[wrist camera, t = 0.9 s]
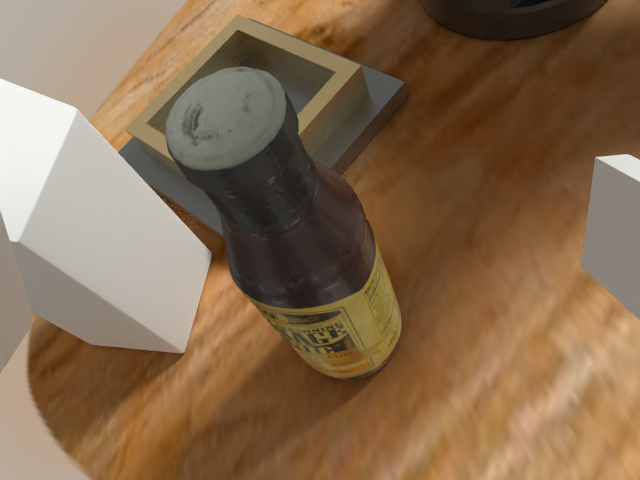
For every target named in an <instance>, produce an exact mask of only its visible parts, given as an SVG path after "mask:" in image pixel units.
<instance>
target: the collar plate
mask: <svg viewBox="0 0 640 480" xmlns="http://www.w3.org/2000/svg"><path fill="white" fill-rule="evenodd" d="M232 67H248V68H252V69H258V70H262V71H265V72H268V73H270V74H271V75H272V76H273V77H275V78H276V79H277V80H278V81H279V82H280V83H281V84H282V86H283V87H284V89H285V91H286V92H287V95H288V97H289V99H290V101H291V102H292V104H293V107H294V109H295V112H296V115H297V117H298V122H299V133H298V135H299V137H300V139H301V141H302V143H303V146H304V148H305V150H306V152H307V153H308V155H310V157H311V158H312V159H313V160H314V161H316V162H318V163H320V164H322V165H325V166H327V167H328V168H330V169H331V170H333V171H335V172H336V173H337V174H339V175H340V176H341V175H342V174H343V173H344V171H345V170H346V169H347V168H348V167H349V166H350V164H351V163H352V162H353V161H354V160H355V159H356V157H357V156H358V155H359V154H360V153H361V151H362V150H363V149H364V148H365V147H366V146H367V144H368V143H369V142H370V141H371V140H372V139H373V137H374V136H375V135H376V134H377V133H378V132H379V130H380V129H381V128H382V127H383V126H384V124H385V123H386V122H387V121H388V120H389V119H390V117H391V116H392V115H393V114H394V113H395V112H396V110H397V109H398V108H399V107H400V106H401V105H402V103H403V102H404V101H405V100H406V99H407V97H408V93H407V89H406V84H405V82H404V81H402V80H399V79H397V78H394V77H392V76H389V75H387V74H384V73H382V72H380V71H377V70H375V69H372V68H370V67H367V66H365V65H362V64H360V63H358V62H355V61H353V60H350V59H348V58H345V57H343V56H340V55H338V54H336V53H333V52H331V51H328V50H326V49H323V48H321V47H318V46H316V45H314V44H311V43H309V42H306V41H304V40H301V39H299V38H296V37H294V36H292V35H289V34H287V33H284V32H282V31H279V30H277V29H274V28H272V27H270V26H267V25H265V24H262V23H260V22H257V21H255V20H252V19H250V18H249V19H247V18H244V17H242V16H240V15H237V16H236V17H235V18H234V19H233V20H232V21H231V22H230V23H229V24H228V25H227V26H226V27H225V28H224V29H223V30H222V31H221V32H220V33H219V34H218V35H217V36H216V37H215V38H214V39H213V40H212V41H211V42H210V43H209V44H208V45H207V46H206V47H205V48H204V49H203V50H202V51H201V52H200V53H199V54H198V55H197V56H196V57H195V58H194V59H193V60H192V61H191V62H190V63H189V64H188V65H187V66H186V67H185V68H184V69H183V70H182V71H181V72H180V73H179V74H178V75H177V77H176V78H175V79H174V80H173V81H172V82H171V83H170V84H169V85H168V86H167V87H166V88H165V89H164V90H163V91H162V92H161V93H160V94H159V95H158V96H157V97H156V98H155V99H154V100H153V101H152V102H151V103H150V104H149V105H148V106H147V107H146V108H145V109H144V110H143V111H142V112H141V113H140V114H139V115H138V116H137V117H136V118H135V119H134V120H133V121H132V122H131V123H130V124H129V125H128V126H127V127H126V128H125V130H126V131H127V132H128V133H129V135H130V136H131V137H132V139H131V140H130V141H129V142H128V143H127V144H126V145H125V146H124V147H123V148H122V149H121V150H120V151H119V152H118V153H119V155H120V156H121V157H122V158H123V159H124V160H125V161H126V162H127V163H128V164H129V165H130V166H131V167H132V168H133V169H134V171H135V172H136V173H137V174H138V175H139V176H140V177H141V178H142V179H143V180H144V181H145V182H146V183H147V184H148V185H149V187H150V188H151V189H153V190H154V191H155V192H157V193H158V194H160V195H161V196H162V197H164V198H165V199H167V200H168V201H169V202H171V203H172V204H174V205H175V206H176V207H178V208H179V209H181V210H182V211H183V212H185V213H186V214H188V215H189V216H190V217H192V218H193V219H195V220H196V221H197V222H199V223H200V224H202V225H203V226H204V227H206V228H207V229H209V230H210V231H212V232H213V233H214V234H216V235H217V236H219V237H220V238H221V239H223V240H224V235H223V230H222V225H221V219H220V215H219V213H218V211H217V210H216V206H215V205H214V204H213V203H212V201H211V200H210V199H209V198H208V197H207V195H206V194H205V192H204V191H203V190H202V189H200V188H198V187H196V186H194V185H193V184H192V183H191V182H190V181H188V180H187V179H186V178H185V176H184V175H183V174H182V172H181V171H180V169H179V167H178V166H177V165H176V163H175V161H174V160H173V158H172V157H171V155H170V154H169V152H168V148H167V143H166V137H165V136H166V131H165V125H166V121H167V119H168V115H169V113H170V111H171V109H172V107H173V105H174V103H175V102H176V101H177V99H178V98H179V97H180V96H181V95H182V94H183V93H184V92H185V91H186V90H187V89H188V88H189V87H190V86H191V85H193V84H194V83H195V82H197V81H198V80H200V79H202V78H204V77H206V76H209V75H212V74H214V73H216V72H217V71H220V70H222V69H227V68H232Z"/></svg>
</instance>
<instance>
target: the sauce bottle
mask: <svg viewBox="0 0 640 480" xmlns="http://www.w3.org/2000/svg"><path fill="white" fill-rule="evenodd" d="M165 131H166V136H165V137H166V143H167V148H168V152H169V154H170V155H171V157H172V158H173V160H174V161H175V163H176V165H177V166H178V167H179V169H180V171H181V172H182V174H183V175H184V176H185V178H186V179H187V180H188V181H190V182H191V183H192V184H193V185H194V186H196V187H198V188H200V189H202V190H203V191H204V192H205V194H206V195H207V197H208V198H209V199H210V200H211V201H212V203H213V204H214V205H215V206H216V210H217V211H218V213H219V215H220V219H221V225H222V230H223V235H224V241H225V246H226V251H227V257H228V262H229V267H230V273H231V276H232V278H233V280H234V282H235V283H236V285H237V286H238V288H239V289H240V290H241V291H242V292H243V294H244V295H246V296H247V297H248V299H249V300H250V301H251V302H252V303H253V304H254V305H255V306H256V308H257V309H258V310H259V311H260V312H261V313H262V315H263V316H264V317H265V318H266V319H267V320H268V322H270V323H271V325H272V326H273V327H274V328H275V329H276V330H277V331H278V332H279V333H280V335H281V336H282V337H283V338H284V339H285V340H286V341H287V342H288V343H289V344H290V345H291V346H292V347H293V348H294V349H295V351H296V352H297V353H298V354H299V355H300V356H301V357H302V358H303V359H304V360H305V361H306V363H308V364H309V365H310V366H311V367H313V368H314V369H315V370H317V371H319V372H321V373H322V374H324V375H326V376H330V377H332V378H338V379H347V380H351V379H355V380H356V379H364V378H366V377H367V376H369V375H371V374H373V373H375V372H376V371H377V370H379V369H380V368H382V366H383V365H385V364H386V363H387V362H388V361H389V360H390V359H391V358H392V357H393V356H394V354H395V353H396V351H397V347H398V344H399V340H400V333H401V328H402V320H401V312H400V308H399V305H398V302H397V299H396V296H395V293H394V290H393V287H392V284H391V282H390V279H389V276H388V273H387V270H386V268H385V265H384V262H383V259H382V256H381V253H380V250H379V247H378V244H377V241H376V238H375V235H374V233H373V230H372V228H371V226H370V224H369V222H368V220H367V219H366V216H365V213H364V210H363V207H362V205H361V203H360V201H359V199H358V197H357V194H356V193H355V192H354V190H353V188H352V187H351V186H350V185H349V184H348V183H347V182H346V180H345V179H343V178H342V177H341V176H340V175H339V174H337V173H336V172H335V171H333V170H331V169H330V168H328V167H327V166H325V165H322V164H320V163H318V162H316V161H314V160H313V159H312V158H311V157H310V155H308V153H307V152H306V150H305V148H304V146H303V143H302V141H301V139H300V137H299V135H298V133H299V122H298V117H297V115H296V112H295V109H294V107H293V104H292V102H291V101H290V99H289V97H288V95H287V92H286V91H285V89H284V87H283V86H282V84H281V83H280V82H279V81H278V80H277V79H276V78H275V77H273V76H272V75H271V74H270V73H268V72H265V71H262V70H258V69H252V68H248V67H232V68H227V69H222V70H220V71H217V72H216V73H214V74H212V75H209V76H206V77H204V78H202V79H200V80H198V81H197V82H195V83H194V84H193V85H191V86H190V87H189V88H188V89H187V90H186V91H185V92H184V93H183V94H182V95H181V96H180V97H179V98H178V99H177V101H176V102H175V103H174V105H173V107H172V109H171V111H170V113H169V115H168V119H167V121H166V125H165Z"/></svg>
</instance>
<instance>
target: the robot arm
mask: <svg viewBox="0 0 640 480" xmlns="http://www.w3.org/2000/svg"><path fill="white" fill-rule="evenodd" d="M420 1H421V3H422V5H423V7H424V8H425V10H426V11H427V12H428V13H429V15H430V16H431V17H432V18H433V19H435V20H436V21H437V22H439V23H440V24H442V25H443V26H445V27H447V28H449V29H451V30H453V31H455V32H458V33H461V34H464V35H468V36H472V37H477V38H484V39H497V40H501V39H519V38H526V37H532V36H537V35H541V34H545V33H549V32H552V31H555V30H558V29H561V28H563V27H566V26H568V25H570V24H572V23H574V22H576V21H578V20H580V19H582V18H584V17H585V16H587V15H589V14H590V13H592V12H593V11H594V10H596V9H597V8H598V7H600V6H601V5H602V4H603V3H604V2H605V1H606V0H420ZM581 266H582V267H583V268H584V269H585V270H586V271H587V272H588V273H589V274H590V275H591V276H592V277H594V278H595V279H596V280H597V281H598V282H599V283H600V284H601V285H602V286H603V287H604V288H605V289H606V290H608V291H609V292H610V293H611V294H612V295H613V296H614V297H615V298H616V299H617V300H618V301H619V302H621V303H622V304H623V305H624V306H625V307H626V308H627V309H628V310H629V311H630V312H631V313H632V314H633V315H635V316H636V317H637V318H638V319H639V320H640V160H639V159H637V158H635V157H633V156H631V155H629V154H624V155H613V156H602V157H595V163H594V170H593V178H592V186H591V193H590V201H589V208H588V216H587V223H586V231H585V238H584V246H583V253H582V261H581ZM34 321H35V320H34V316H33V313H32V310H31V307H30V304H29V300H28V297H27V294H26V291H25V288H24V284H23V281H22V278H21V275H20V272H19V268H18V265H17V262H16V259H15V256H14V252H13V249H12V246H11V243H10V240H9V236H8V233H7V230H6V227H5V224H4V220H3V217H2V214H1V211H0V373H1V371H2V370H3V368H4V367H5V365H6V364H7V362H8V360H9V359H10V357H11V356H12V354H13V353H14V351H15V350H16V348H17V347H18V345H19V344H20V342H21V341H22V339H23V337H24V336H25V335H26V333H27V332H28V330H29V329H30V327H31V326H32V324H33V323H34Z"/></svg>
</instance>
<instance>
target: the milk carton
mask: <svg viewBox="0 0 640 480" xmlns="http://www.w3.org/2000/svg"><path fill="white" fill-rule="evenodd" d="M0 211H1V214H2V217H3V220H4V224H5V227H6V230H7V233H8V236H9V240H10V243H11V246H12V249H13V252H14V256H15V259H16V262H17V265H18V268H19V272H20V275H21V278H22V281H23V284H24V288H25V291H26V294H27V297H28V300H29V304H30V307H31V310H32V313H34V314H36V315H38V316H40V317H41V318H43V319H45V320H47V321H49V322H51V323H52V324H54V325H56V326H58V327H60V328H62V329H63V330H65V331H67V332H69V333H71V334H72V335H74V336H76V337H78V338H80V339H82V340H83V341H85V342H87V343H89V344H91V345H100V346H110V347H120V348H130V349H140V350H151V351H161V352H171V353H184V352H185V349H186V346H187V343H188V339H189V336H190V332H191V329H192V325H193V322H194V318H195V315H196V311H197V308H198V304H199V301H200V297H201V294H202V290H203V287H204V283H205V280H206V276H207V273H208V269H209V266H210V262H211V258H212V253H211V252H210V250H209V249H208V248H207V247H206V246H205V245H204V244H203V243H202V242H201V241H200V240H199V239H198V238H197V237H196V236H195V234H194V233H193V232H192V231H191V230H190V229H189V228H188V227H187V226H186V225H185V224H184V223H183V222H182V221H181V220H180V218H179V217H178V216H177V215H176V214H175V213H174V212H173V211H172V210H171V209H170V208H169V207H168V206H167V205H166V204H165V203H164V201H163V200H162V199H161V198H160V197H159V196H158V195H157V194H156V193H155V192H154V191H153V190H152V189H151V188H150V187H149V185H148V184H147V183H146V182H145V181H144V180H143V179H142V178H141V177H140V176H139V175H138V174H137V173H136V172H135V171H134V169H133V168H132V167H131V166H130V165H129V164H128V163H127V162H126V161H125V160H124V159H123V158H122V157H121V156H120V155H119V153H118V152H117V151H116V150H115V149H114V148H113V147H112V146H111V145H110V144H109V143H108V142H107V141H106V140H105V139H104V138H103V136H102V135H101V134H100V133H99V132H98V131H97V130H96V129H95V128H94V127H93V126H92V125H91V124H90V123H89V122H88V120H87V119H86V118H85V117H84V116H83V115H82V114H81V113H80V112H79V111H78V110H77V108H75V107H72V106H70V105H67V104H64V103H62V102H59V101H57V100H54V99H52V98H49V97H46V96H44V95H41V94H39V93H36V92H34V91H31V90H28V89H26V88H23V87H20V86H18V85H15V84H13V83H10V82H8V81H5V80H2V79H0Z"/></svg>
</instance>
